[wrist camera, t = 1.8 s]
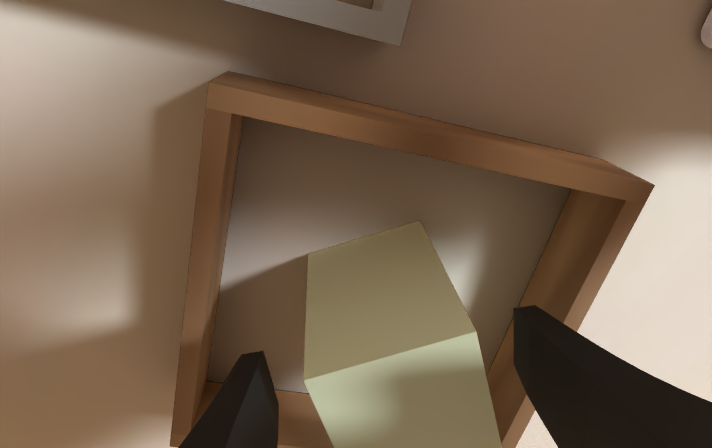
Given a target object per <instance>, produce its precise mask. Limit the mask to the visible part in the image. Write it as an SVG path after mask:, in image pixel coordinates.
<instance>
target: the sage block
mask: <svg viewBox="0 0 712 448" xmlns="http://www.w3.org/2000/svg"><path fill="white" fill-rule="evenodd" d="M303 381H304V383H305V386H306V388H307V390H308V392H309V394H310V396H311V399H312V401H313V403H314V405H315V407H316V410H317V412H318V414H319V416H320V418H321V420H322V423H323V425H324V427H325V429H326V431H327V433H328V436H329V438H330V440H331V442H332V444H333V446H334V448H502V445H501V441H500V436H499V431H498V427H497V422H496V418H495V413H494V409H493V404H492V400H491V395H490V391H489V386H488V382H487V377H486V372H485V368H484V363H483V359H482V354H481V350H480V345H479V341H478V336H477V332H476V329H475V328H474V326H473V324H472V322H471V320H470V318H469V316H468V314H467V312H466V310H465V308H464V306H463V304H462V302H461V300H460V298H459V296H458V294H457V292H456V290H455V288H454V286H453V284H452V283H451V281H450V279H449V277H448V275H447V273H446V271H445V269H444V267H443V265H442V263H441V261H440V259H439V257H438V255H437V253H436V251H435V249H434V247H433V245H432V243H431V241H430V239H429V237H428V236H427V234H426V232H425V230H424V228H423V226H422V224H421V222H420V221H416V222H413V223H410V224H406V225H403V226H400V227H396V228H393V229H389V230H386V231H383V232H379V233H376V234H373V235H369V236H366V237H363V238H359V239H356V240H353V241H349V242H346V243H342V244H339V245H336V246H332V247H329V248H326V249H322V250H319V251H316V252H312V253H309V254H308V268H307V295H306V321H305V347H304V374H303Z"/></svg>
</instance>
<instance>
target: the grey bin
mask: <svg viewBox="0 0 712 448" xmlns="http://www.w3.org/2000/svg"><path fill="white" fill-rule="evenodd" d="M223 1H227V2H231V3H235V4H239V5H243V6H246V7H250V8H254V9H258V10H262V11H265V12H269V13H273V14H277V15H281V16H285V17H288V18H292V19H296V20H300V21H304V22H307V23H311V24H315V25H319V26H323V27H327V28H330V29H334V30H338V31H342V32H346V33H350V34H353V35H357V36H361V37H365V38H369V39H372V40H376V41H380V42H384V43H388V44H392V45H395V46H399V47H400V45H401V41H402V37H403V33H404V30H405V26H406V22H407V18H408V14H409V11H410V7H411V3H412V0H374V1H373V5H372V9H367V8H364V7H360V6H356V5H353V4H349V3H345V2H342V1H338V0H223Z"/></svg>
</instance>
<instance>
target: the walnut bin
mask: <svg viewBox="0 0 712 448" xmlns="http://www.w3.org/2000/svg"><path fill="white" fill-rule="evenodd" d="M244 116H246V117H251V118H255V119H260V120H264V121H269V122H273V123H278V124H282V125H287V126H291V127H296V128H300V129H305V130H309V131H314V132H318V133H323V134H327V135H332V136H336V137H341V138H346V139H350V140H355V141H359V142H364V143H368V144H373V145H377V146H382V147H386V148H391V149H395V150H400V151H404V152H409V153H413V154H418V155H422V156H427V157H431V158H436V159H440V160H445V161H449V162H454V163H459V164H463V165H468V166H472V167H477V168H481V169H486V170H490V171H495V172H499V173H504V174H508V175H513V176H517V177H522V178H526V179H531V180H535V181H540V182H544V183H549V184H553V185H558V186H562V187H567V188H571V189H572V191H571V193H570V195H569V197H568V199H567V201H566V204H565V206H564V208H563V210H562V212H561V215H560V217H559V219H558V221H557V223H556V226H555V228H554V230H553V232H552V234H551V236H550V239H549V241H548V243H547V245H546V247H545V250H544V252H543V254H542V256H541V258H540V261H539V263H538V265H537V267H536V269H535V272H534V274H533V276H532V278H531V280H530V282H529V285H528V287H527V289H526V291H525V293H524V296H523V298H522V300H521V302H520V304H519V307H525V306H531V305H536V306H537V307H539V308H541V309H542V310H544V311H545V312H547V313H548V314H550V315H551V316H553V317H554V318H556V319H557V320H559V321H560V322H562V323H563V324H565V325H567V326H568V327H570V328H571V329H573V330H574V331H576V332H577V331H578V329H579V327H580V325H581V323H582V321H583V319H584V317H585V316H586V314H587V312H588V310H589V308H590V306H591V304H592V302H593V301H594V299H595V297H596V295H597V293H598V291H599V289H600V287H601V285H602V284H603V282H604V280H605V278H606V276H607V274H608V272H609V270H610V269H611V267H612V265H613V263H614V261H615V259H616V257H617V255H618V254H619V252H620V250H621V248H622V246H623V244H624V242H625V240H626V238H627V237H628V235H629V233H630V231H631V229H632V227H633V225H634V223H635V222H636V220H637V218H638V216H639V214H640V212H641V210H642V208H643V207H644V205H645V203H646V201H647V199H648V197H649V195H650V193H651V192H652V190H653V188H654V186H655V185H653V184H651V183H649V182H647V181H645V180H643V179H641V178H639V177H637V176H635V175H633V174H631V173H629V172H627V171H625V170H623V169H621V168H619V167H617V166H615V165H613V164H611V163H609V162H607V161H605V160H602V159H597V158H593V157H589V156H585V155H581V154H576V153H572V152H568V151H564V150H559V149H555V148H551V147H547V146H542V145H538V144H534V143H530V142H526V141H521V140H517V139H513V138H509V137H504V136H500V135H496V134H492V133H487V132H483V131H479V130H475V129H471V128H466V127H462V126H458V125H454V124H449V123H445V122H441V121H437V120H432V119H428V118H424V117H420V116H416V115H411V114H407V113H403V112H399V111H394V110H390V109H386V108H382V107H377V106H373V105H369V104H365V103H360V102H356V101H352V100H348V99H344V98H339V97H335V96H331V95H327V94H322V93H318V92H314V91H310V90H305V89H301V88H297V87H293V86H289V85H284V84H280V83H276V82H272V81H267V80H263V79H259V78H255V77H250V76H246V75H242V74H238V73H234V72H229V71H227V72H226V73H224V74H222V75H220V76H219V77H217V78H215V79H213V80H212V81H210V82H209V83H208V93H207V102H206V111H205V121H204V130H203V140H202V149H201V158H200V168H199V177H198V186H197V196H196V205H195V215H194V224H193V233H192V243H191V252H190V261H189V271H188V280H187V289H186V299H185V308H184V318H183V327H182V336H181V346H180V355H179V364H178V374H177V383H176V393H175V402H174V411H173V421H172V430H171V439H170V446H171V447H179V446H180V444H181V443H182V442H183V440H184V439H185V438H186V436H187V435H188V434H189V432H190V431H191V430H192V428H193V427H194V426H195V424H196V423H197V422H198V420H199V419H200V418H201V416H202V415H203V413H204V412H205V410H206V409H207V407H208V406H209V404H210V403H211V401H212V400H213V398H214V397H215V395H216V394H217V392H218V391H219V389H220V388H221V386H222V385H223V383H215V382H207V381H206V380H207V373H208V366H209V359H210V352H211V345H212V338H213V331H214V323H215V316H216V309H217V302H218V295H219V288H220V281H221V274H222V266H223V259H224V252H225V245H226V238H227V231H228V224H229V217H230V210H231V202H232V195H233V188H234V181H235V174H236V167H237V160H238V153H239V145H240V138H241V131H242V124H243V117H244ZM519 307H518V308H519ZM513 351H514V317H513V320H512V322H511V324H510V326H509V328H508V331H507V333H506V335H505V337H504V339H503V342H502V344H501V346H500V348H499V350H498V353H497V355H496V357H495V359H494V361H493V363H492V366H491V368H490V370H489V372H488V374H487V382H488V386H489V391H490V395H491V400H492V404H493V409H494V413H495V418H496V422H497V427H498V431H499V436H500V441H501V445H502V448H515V447H516V445H517V443H518V441H519V440H520V438H521V436H522V434H523V432H524V430H525V428H526V426H527V425H528V423H529V421H530V419H531V417H532V415H533V413H534V411H535V408H534V406H533V405H532V403H531V401H530V399H529V398H528V396H527V394H526V391H525V389H524V387H523V385H522V383H521V380H520V378H519V376H518V373H517V371H516V369H515V366H514V364H513ZM275 393H276V396H277V400H278V403H279V427H278V445H277V448H334V446H333V444H332V442H331V440H330V438H329V436H328V433H327V431H326V429H325V427H324V425H323V423H322V420H321V418H320V416H319V414H318V412H317V410H316V407H315V405H314V403H313V401H312V399H311V396H310V394H305V393H297V392H289V391H280V390H275Z"/></svg>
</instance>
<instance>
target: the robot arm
mask: <svg viewBox="0 0 712 448" xmlns="http://www.w3.org/2000/svg"><path fill="white" fill-rule="evenodd" d="M701 41H702V42H703V44H704V45H705V46H707V47H708V48H711V49H712V9H711V11H710V13H709V15H708V17H707V19H706V21H705V23H704V25H703V27H702V31H701ZM513 364H514V366H515V369H516V371H517V373H518V376H519V378H520V380H521V383H522V385H523V387H524V389H525V391H526V394H527V396H528V398H529V399H530V401H531V403H532V405H533V406H534V408H535V410H536V411H537V413H538V415H539V416H540V418H541V420H542V421H543V423H544V425H545V426H546V428H547V430H548V431H549V433H550V435H551V436H552V438H553V440H554V441H555V443H556V444H557V446H558V448H712V402H710V401H707V400H705V399H702V398H700V397H697V396H695V395H693V394H690V393H688V392H686V391H683V390H681V389H679V388H677V387H675V386H673V385H671V384H669V383H666V382H664V381H662V380H660V379H658V378H656V377H654V376H652V375H650V374H648V373H646V372H644V371H642V370H640V369H638V368H636V367H635V366H633V365H631V364H629V363H627V362H626V361H624V360H622V359H620V358H618V357H617V356H615V355H613V354H611V353H610V352H608V351H606V350H605V349H603V348H601V347H600V346H598V345H596V344H595V343H593V342H591V341H590V340H588V339H587V338H585V337H584V336H582V335H580V334H579V333H577V332H576V331H574V330H573V329H571V328H570V327H568V326H567V325H565V324H563V323H562V322H560V321H559V320H557V319H556V318H554V317H553V316H551V315H550V314H548V313H547V312H545V311H544V310H542V309H541V308H539V307H537V306H536V305H531V306H525V307H519V308H514V351H513ZM278 427H279V403H278V400H277V396H276V393H275V390H274V386H273V383H272V379H271V376H270V372H269V369H268V366H267V362H266V359H265V355H264V352H263V351H259V352H254V353H248V354H242V355H241V356H240V358H239V359H238V361H237V362H236V364H235V365H234V367H233V369H232V370H231V372H230V373H229V375H228V377H227V378H226V380H225V381H224V383H223V385H222V386H221V388H220V389H219V391H218V392H217V394H216V395H215V397H214V398H213V400H212V401H211V403H210V404H209V406H208V407H207V409H206V410H205V412H204V413H203V415H202V416H201V418H200V419H199V420H198V422H197V423H196V424H195V426H194V427H193V428H192V430H191V431H190V432H189V434H188V435H187V436H186V438H185V439H184V440H183V442H182V443H181V444H180V446H179V447H178V448H277V445H278Z"/></svg>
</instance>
